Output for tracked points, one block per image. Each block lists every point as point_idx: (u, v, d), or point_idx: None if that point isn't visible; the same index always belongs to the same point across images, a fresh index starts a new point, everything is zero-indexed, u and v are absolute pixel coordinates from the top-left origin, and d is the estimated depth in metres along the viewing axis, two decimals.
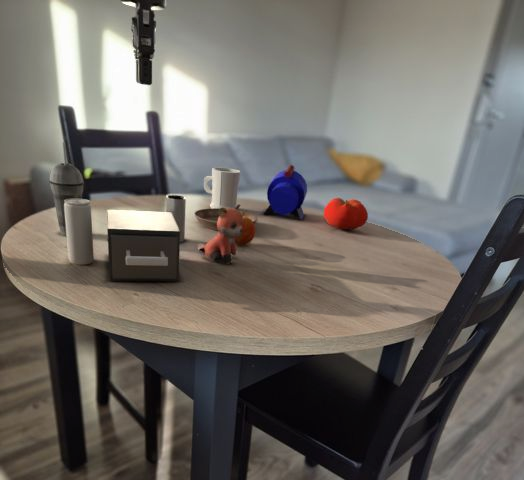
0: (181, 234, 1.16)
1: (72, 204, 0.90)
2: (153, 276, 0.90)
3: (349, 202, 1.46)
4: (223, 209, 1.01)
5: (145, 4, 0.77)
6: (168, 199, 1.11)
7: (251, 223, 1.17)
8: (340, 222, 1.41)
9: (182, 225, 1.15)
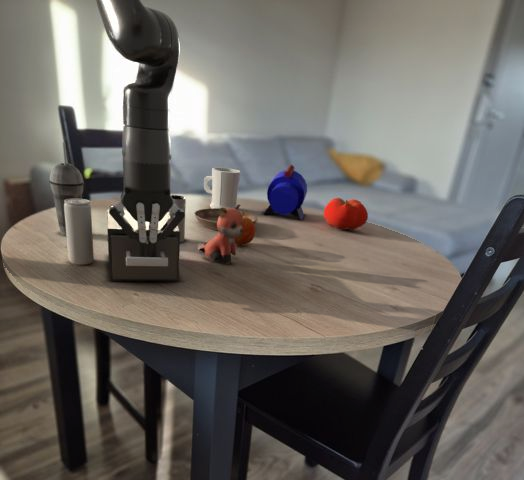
0: (181, 234, 1.16)
1: (72, 204, 0.90)
2: (153, 277, 0.90)
3: (349, 202, 1.46)
4: (223, 209, 1.01)
5: None
6: None
7: (251, 223, 1.17)
8: (340, 222, 1.41)
9: (182, 225, 1.15)
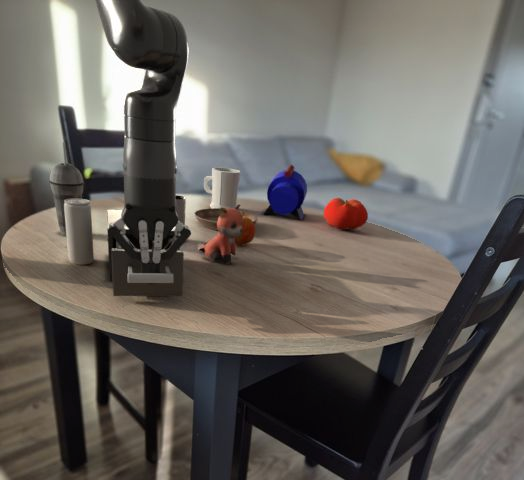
0: None
1: (72, 204, 0.90)
2: (157, 293, 0.83)
3: (349, 202, 1.46)
4: (223, 209, 1.01)
5: None
6: None
7: (251, 223, 1.17)
8: (340, 222, 1.41)
9: None
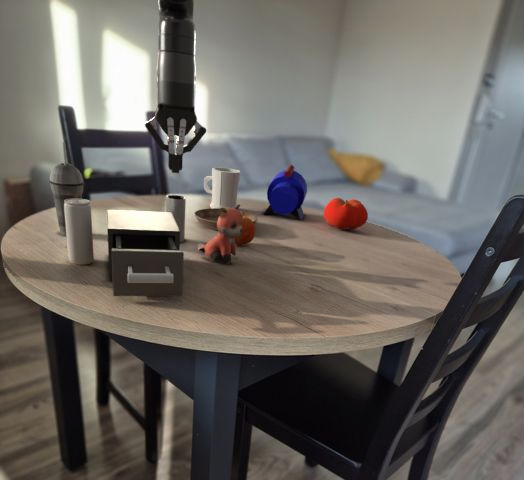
0: (181, 234, 1.16)
1: (72, 204, 0.90)
2: (157, 293, 0.83)
3: (349, 202, 1.46)
4: (223, 209, 1.01)
5: (157, 105, 0.96)
6: (168, 199, 1.11)
7: (251, 223, 1.17)
8: (340, 222, 1.41)
9: (182, 225, 1.15)
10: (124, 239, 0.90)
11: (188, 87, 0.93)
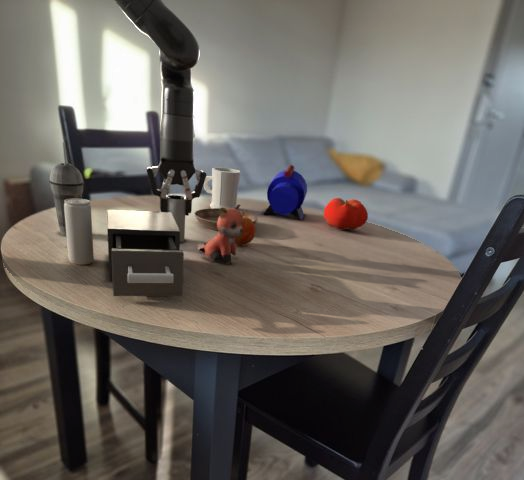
0: (181, 234, 1.16)
1: (72, 204, 0.90)
2: (157, 293, 0.83)
3: (349, 202, 1.46)
4: (223, 209, 1.01)
5: (160, 159, 1.08)
6: (168, 199, 1.12)
7: (251, 223, 1.17)
8: (340, 222, 1.41)
9: (182, 225, 1.15)
10: (124, 239, 0.90)
11: (188, 144, 1.05)
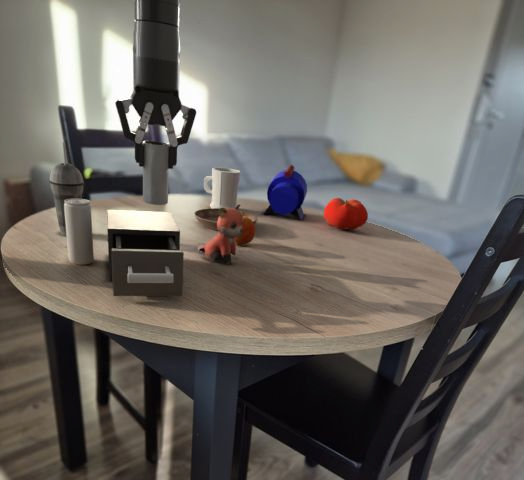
0: (164, 193, 0.88)
1: (72, 204, 0.90)
2: (157, 293, 0.83)
3: (349, 202, 1.46)
4: (223, 209, 1.01)
5: (133, 88, 0.80)
6: (145, 145, 0.83)
7: (251, 223, 1.17)
8: (340, 222, 1.41)
9: (164, 181, 0.87)
10: (124, 239, 0.90)
11: (171, 65, 0.77)
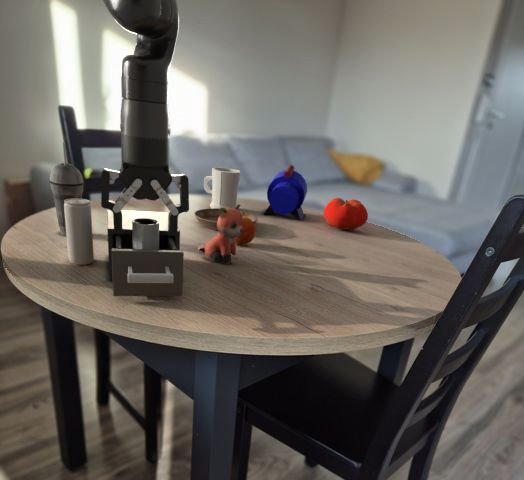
0: None
1: (72, 204, 0.90)
2: (157, 293, 0.83)
3: (349, 202, 1.46)
4: (223, 209, 1.01)
5: None
6: (134, 225, 0.81)
7: (251, 223, 1.17)
8: (340, 222, 1.41)
9: None
10: (124, 239, 0.90)
11: (160, 143, 0.74)
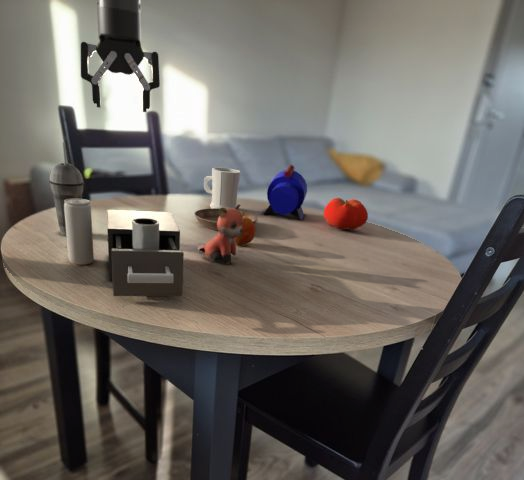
0: None
1: (72, 204, 0.90)
2: (157, 293, 0.83)
3: (349, 202, 1.46)
4: (223, 209, 1.01)
5: None
6: (134, 225, 0.81)
7: (251, 223, 1.17)
8: (340, 222, 1.41)
9: None
10: (124, 239, 0.90)
11: (131, 15, 0.84)
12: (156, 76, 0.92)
